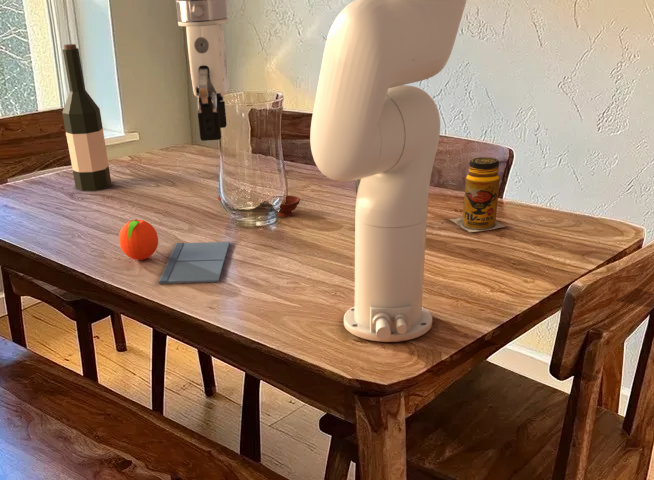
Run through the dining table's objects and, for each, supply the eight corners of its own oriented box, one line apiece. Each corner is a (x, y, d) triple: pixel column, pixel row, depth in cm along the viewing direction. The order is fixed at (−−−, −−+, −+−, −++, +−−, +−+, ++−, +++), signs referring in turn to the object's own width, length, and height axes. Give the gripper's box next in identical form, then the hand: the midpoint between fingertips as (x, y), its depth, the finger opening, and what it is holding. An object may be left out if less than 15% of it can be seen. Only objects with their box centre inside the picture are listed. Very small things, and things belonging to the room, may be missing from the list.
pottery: (245, 195, 173) (244, 174, 170) (315, 210, 161) (315, 188, 159) (207, 208, 166) (205, 187, 163) (277, 225, 154) (276, 202, 152)
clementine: (152, 268, 137) (146, 227, 133) (114, 267, 138) (107, 227, 135) (165, 252, 144) (160, 213, 140) (129, 251, 145) (123, 213, 141)
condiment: (470, 233, 145) (476, 166, 138) (448, 220, 152) (453, 156, 145) (505, 228, 146) (513, 161, 140) (482, 215, 153) (488, 151, 147)
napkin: (218, 282, 130) (218, 279, 130) (158, 283, 131) (158, 281, 130) (229, 243, 146) (229, 241, 146) (176, 245, 147) (176, 242, 146)
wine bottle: (74, 183, 188) (48, 44, 172) (109, 179, 190) (87, 41, 173) (77, 192, 181) (51, 48, 165) (113, 188, 183) (91, 45, 167)
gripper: (221, 15, 110) (233, 143, 119) (231, 7, 124) (241, 122, 133) (168, 19, 110) (183, 146, 119) (185, 10, 125) (197, 124, 134)
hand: (214, 133), depth 126 cm, fingers open, 9 cm apart
